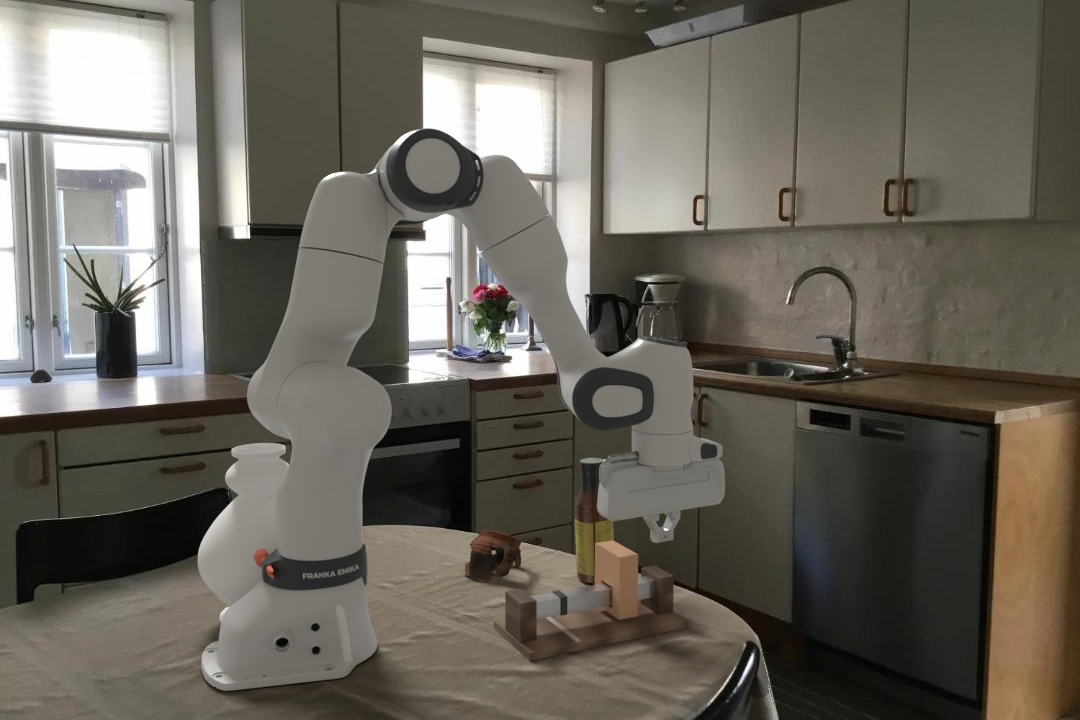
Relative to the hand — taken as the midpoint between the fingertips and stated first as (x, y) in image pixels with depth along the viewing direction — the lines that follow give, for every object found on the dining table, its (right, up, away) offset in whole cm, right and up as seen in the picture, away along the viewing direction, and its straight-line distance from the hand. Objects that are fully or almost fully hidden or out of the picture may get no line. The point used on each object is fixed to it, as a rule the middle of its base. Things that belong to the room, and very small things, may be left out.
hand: (661, 540), depth 136 cm
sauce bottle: (-9, -10, +15) cm, 20 cm away
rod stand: (-11, -12, -4) cm, 16 cm away
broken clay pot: (-25, -9, +18) cm, 32 cm away
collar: (-7, -9, -3) cm, 12 cm away
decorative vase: (-58, -11, +1) cm, 59 cm away
